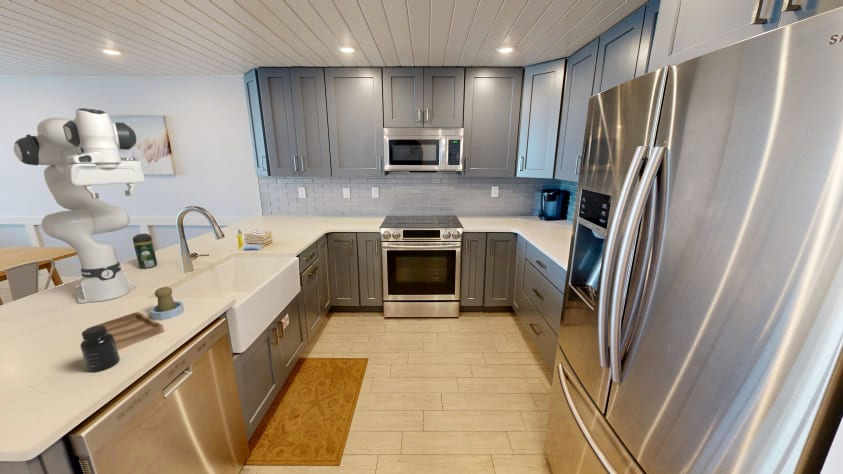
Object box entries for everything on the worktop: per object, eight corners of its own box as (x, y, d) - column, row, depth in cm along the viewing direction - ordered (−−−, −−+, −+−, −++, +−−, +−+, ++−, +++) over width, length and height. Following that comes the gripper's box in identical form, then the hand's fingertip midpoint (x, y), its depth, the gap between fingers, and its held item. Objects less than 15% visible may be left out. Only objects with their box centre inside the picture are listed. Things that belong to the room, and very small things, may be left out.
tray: (88, 335, 107) (86, 328, 107) (139, 317, 119) (137, 311, 119) (111, 352, 98) (109, 345, 97) (164, 331, 110) (162, 325, 109)
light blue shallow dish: (147, 316, 120) (145, 309, 120) (176, 305, 129) (175, 299, 128) (159, 322, 116) (157, 315, 115) (188, 311, 124) (187, 304, 123)
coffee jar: (139, 265, 176) (132, 233, 171) (157, 262, 181) (150, 231, 176) (138, 270, 169) (131, 237, 164) (157, 267, 174) (150, 235, 169)
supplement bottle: (102, 358, 95) (92, 323, 92) (126, 357, 96) (117, 322, 93) (80, 373, 88) (69, 336, 85) (106, 372, 89) (95, 335, 86)
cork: (167, 318, 119) (161, 292, 116) (154, 316, 120) (148, 290, 117) (181, 311, 125) (176, 285, 122) (169, 309, 126) (164, 284, 123)
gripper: (135, 157, 119) (142, 193, 123) (58, 157, 101) (69, 199, 105) (143, 157, 117) (151, 194, 120) (66, 157, 99) (78, 200, 102)
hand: (112, 196), depth 112 cm, fingers open, 8 cm apart
